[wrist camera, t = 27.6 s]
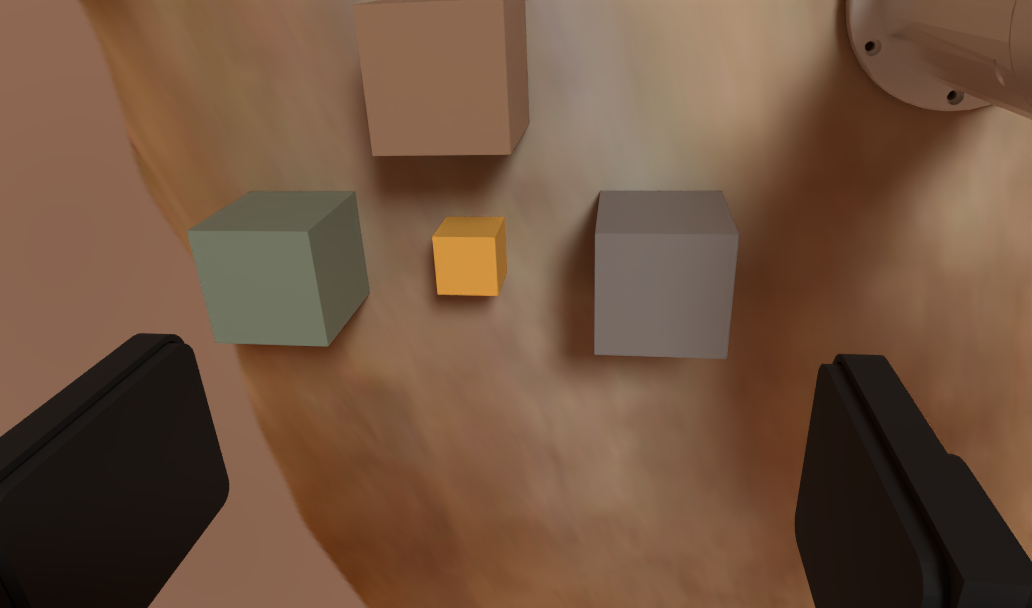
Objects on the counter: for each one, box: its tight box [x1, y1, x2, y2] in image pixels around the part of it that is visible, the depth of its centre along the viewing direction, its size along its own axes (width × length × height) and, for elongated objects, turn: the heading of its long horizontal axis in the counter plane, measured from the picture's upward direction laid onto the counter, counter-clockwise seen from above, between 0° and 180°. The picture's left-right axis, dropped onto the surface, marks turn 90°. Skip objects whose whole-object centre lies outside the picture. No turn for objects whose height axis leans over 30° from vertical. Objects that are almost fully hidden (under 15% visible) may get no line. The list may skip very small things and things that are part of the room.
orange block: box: [432, 217, 507, 296], centre depth 47 cm, size 4×4×4 cm
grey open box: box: [594, 191, 739, 359], centre depth 44 cm, size 8×8×8 cm
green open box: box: [187, 192, 370, 347], centre depth 47 cm, size 8×8×8 cm
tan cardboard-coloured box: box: [353, 0, 529, 156], centre depth 40 cm, size 8×8×8 cm
